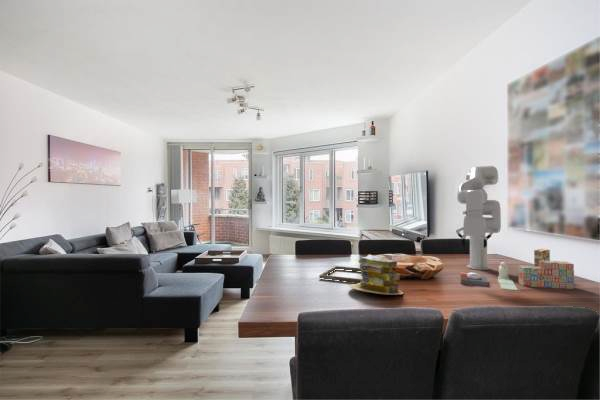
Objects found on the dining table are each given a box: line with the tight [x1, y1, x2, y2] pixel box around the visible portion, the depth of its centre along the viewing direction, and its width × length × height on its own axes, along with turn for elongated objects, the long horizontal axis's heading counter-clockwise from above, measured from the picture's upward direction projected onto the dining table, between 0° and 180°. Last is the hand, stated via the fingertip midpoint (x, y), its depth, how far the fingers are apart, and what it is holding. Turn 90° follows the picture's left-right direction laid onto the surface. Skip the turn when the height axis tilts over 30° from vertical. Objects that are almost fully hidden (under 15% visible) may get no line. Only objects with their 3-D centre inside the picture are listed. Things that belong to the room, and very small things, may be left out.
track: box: [497, 277, 519, 292], centre depth 166 cm, size 21×6×1 cm, turn 154°
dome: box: [466, 272, 482, 280], centre depth 171 cm, size 6×6×3 cm
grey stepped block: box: [460, 271, 489, 287], centre depth 171 cm, size 12×12×6 cm
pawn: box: [497, 261, 510, 279], centre depth 179 cm, size 5×5×9 cm
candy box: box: [533, 248, 551, 266], centre depth 179 cm, size 9×4×15 cm, turn 121°
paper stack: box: [348, 254, 404, 296], centre depth 154 cm, size 25×25×17 cm
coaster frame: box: [318, 265, 362, 283], centre depth 185 cm, size 26×26×2 cm
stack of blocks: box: [518, 260, 575, 290], centre depth 163 cm, size 21×6×12 cm, turn 75°
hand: (474, 247), depth 171 cm, fingers open, 9 cm apart
